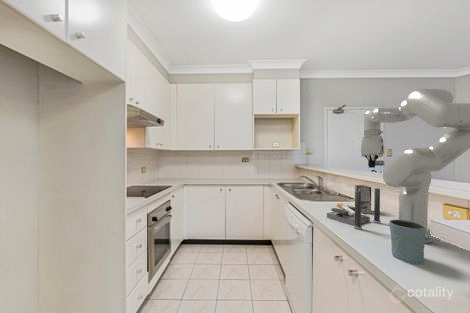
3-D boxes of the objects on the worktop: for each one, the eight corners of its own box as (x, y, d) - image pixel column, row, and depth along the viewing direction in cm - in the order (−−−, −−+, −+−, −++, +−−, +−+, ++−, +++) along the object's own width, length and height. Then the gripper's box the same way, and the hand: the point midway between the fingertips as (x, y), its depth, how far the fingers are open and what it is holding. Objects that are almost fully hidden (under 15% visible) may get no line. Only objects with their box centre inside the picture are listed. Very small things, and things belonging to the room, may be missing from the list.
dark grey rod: (363, 229, 102) (363, 191, 102) (359, 230, 101) (359, 192, 100) (356, 227, 105) (356, 190, 105) (352, 228, 104) (352, 191, 103)
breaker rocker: (355, 214, 116) (356, 212, 115) (350, 215, 113) (351, 213, 113) (341, 205, 123) (342, 202, 122) (336, 206, 121) (337, 203, 120)
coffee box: (371, 213, 128) (372, 187, 127) (360, 213, 128) (360, 187, 128) (364, 209, 137) (364, 185, 136) (354, 209, 138) (354, 184, 137)
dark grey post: (381, 223, 111) (382, 188, 110) (378, 224, 109) (378, 189, 109) (375, 221, 113) (375, 188, 113) (372, 222, 112) (372, 188, 112)
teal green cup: (414, 267, 68) (415, 230, 68) (382, 253, 77) (382, 221, 77) (432, 260, 72) (432, 226, 72) (399, 248, 82) (399, 217, 81)
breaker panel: (370, 221, 114) (370, 210, 114) (353, 226, 106) (353, 214, 106) (342, 213, 128) (342, 204, 127) (326, 217, 120) (326, 207, 120)
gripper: (391, 133, 111) (390, 168, 111) (361, 135, 124) (361, 166, 124) (383, 132, 107) (383, 168, 107) (354, 134, 120) (354, 167, 120)
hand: (371, 167), depth 116 cm, fingers closed
